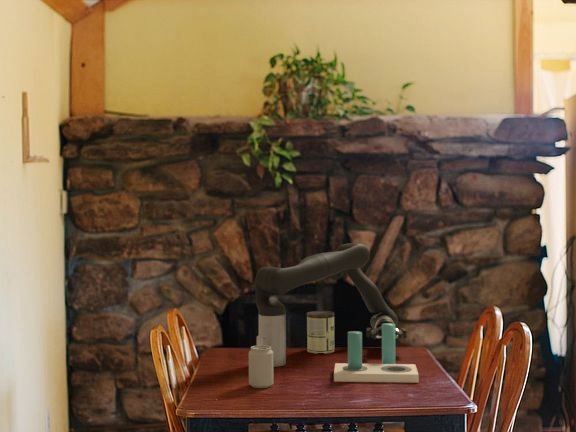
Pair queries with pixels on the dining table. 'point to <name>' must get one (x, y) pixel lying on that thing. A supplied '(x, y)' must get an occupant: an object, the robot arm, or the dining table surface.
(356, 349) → the seated pin
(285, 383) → the dining table surface
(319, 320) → the coffee can
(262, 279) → the robot arm
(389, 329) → the pin
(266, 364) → the can
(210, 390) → the dining table surface
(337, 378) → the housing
